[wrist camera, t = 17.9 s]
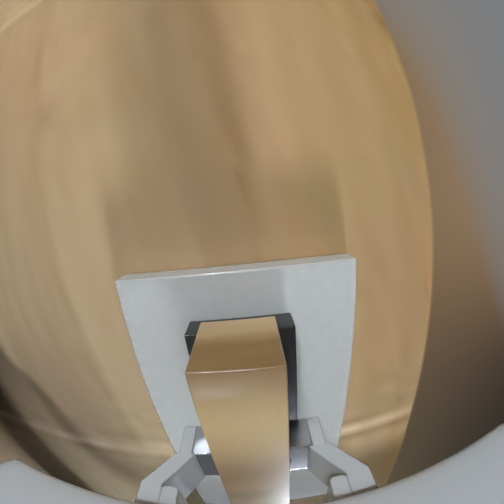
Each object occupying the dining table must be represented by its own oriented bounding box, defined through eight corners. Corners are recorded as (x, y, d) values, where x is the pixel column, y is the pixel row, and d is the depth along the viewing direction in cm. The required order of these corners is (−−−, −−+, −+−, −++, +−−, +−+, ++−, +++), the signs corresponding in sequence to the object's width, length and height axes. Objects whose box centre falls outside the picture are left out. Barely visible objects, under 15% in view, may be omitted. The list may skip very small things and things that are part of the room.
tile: (123, 274, 11) (113, 281, 10) (348, 252, 12) (357, 258, 10) (205, 494, 16) (204, 504, 15) (324, 485, 16) (326, 494, 15)
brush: (187, 309, 10) (158, 372, 6) (290, 299, 10) (314, 361, 6) (227, 466, 13) (225, 520, 9) (293, 460, 13) (303, 514, 9)
